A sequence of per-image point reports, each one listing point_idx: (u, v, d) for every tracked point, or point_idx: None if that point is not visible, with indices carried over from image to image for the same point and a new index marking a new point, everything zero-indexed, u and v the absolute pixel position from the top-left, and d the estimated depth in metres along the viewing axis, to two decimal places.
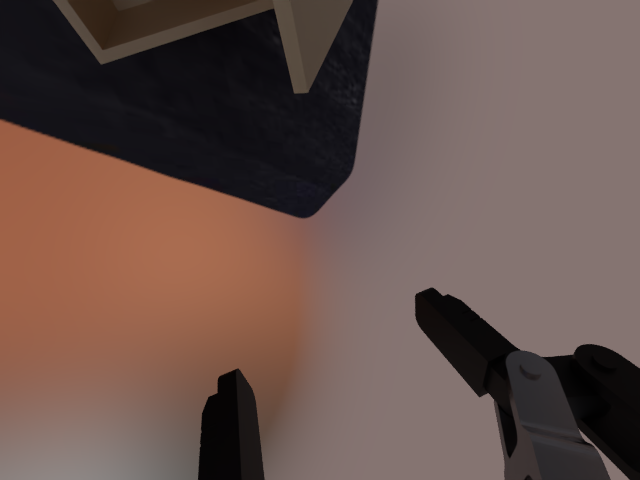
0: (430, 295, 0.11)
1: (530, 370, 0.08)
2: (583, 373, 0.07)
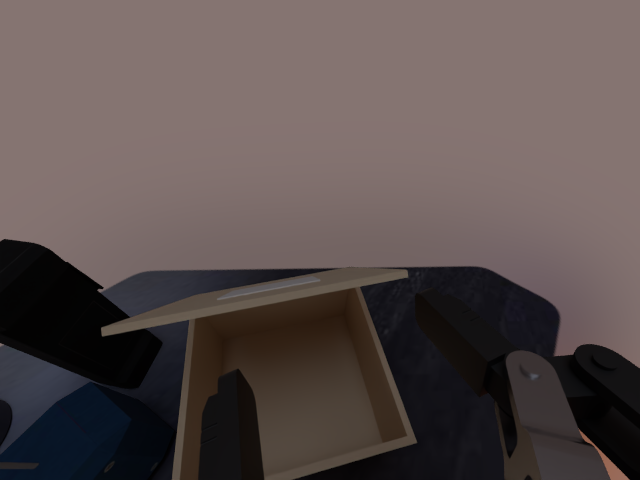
0: (430, 295, 0.11)
1: (530, 370, 0.08)
2: (583, 373, 0.07)
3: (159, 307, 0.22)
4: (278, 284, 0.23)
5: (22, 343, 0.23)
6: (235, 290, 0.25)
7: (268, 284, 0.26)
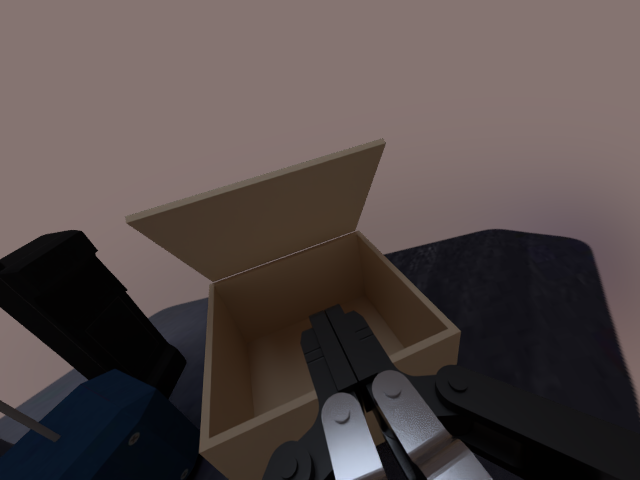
0: (333, 311, 0.11)
1: (392, 391, 0.08)
2: (452, 405, 0.07)
3: None
4: None
5: (52, 319, 0.24)
6: None
7: None
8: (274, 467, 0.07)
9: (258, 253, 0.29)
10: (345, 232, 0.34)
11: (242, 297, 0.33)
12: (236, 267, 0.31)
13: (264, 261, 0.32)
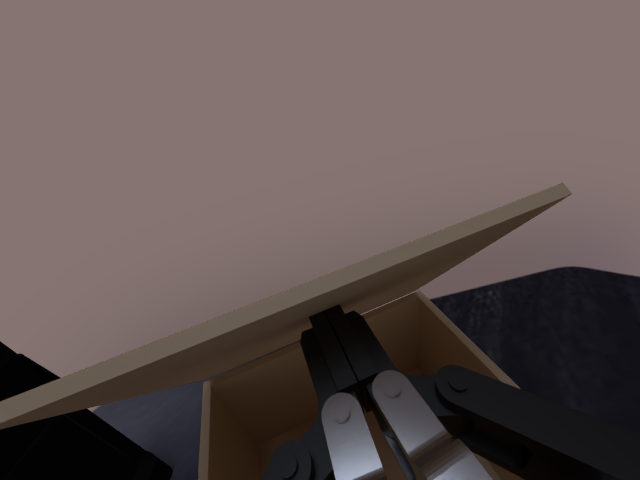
0: (333, 312, 0.11)
1: (392, 391, 0.08)
2: (452, 405, 0.07)
3: None
4: None
5: None
6: None
7: None
8: (274, 467, 0.07)
9: (279, 344, 0.19)
10: (402, 295, 0.23)
11: (252, 394, 0.23)
12: (245, 361, 0.20)
13: (286, 344, 0.21)
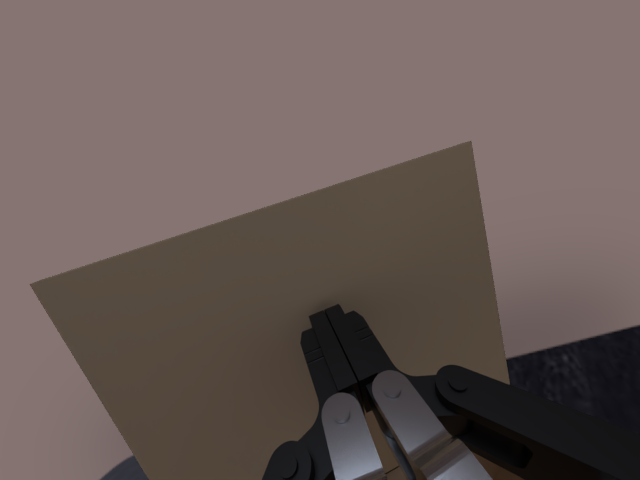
0: (333, 312, 0.11)
1: (392, 391, 0.08)
2: (452, 405, 0.07)
3: None
4: None
5: None
6: None
7: None
8: (274, 467, 0.07)
9: None
10: None
11: None
12: None
13: None
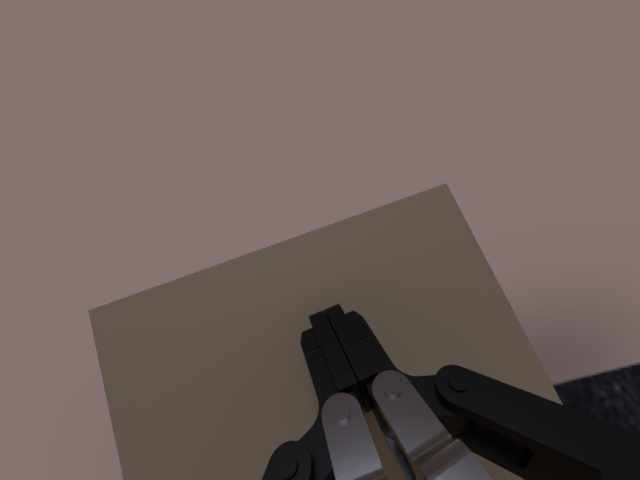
0: (333, 312, 0.11)
1: (392, 391, 0.08)
2: (452, 405, 0.07)
3: None
4: None
5: None
6: None
7: None
8: (274, 467, 0.07)
9: None
10: None
11: None
12: None
13: None
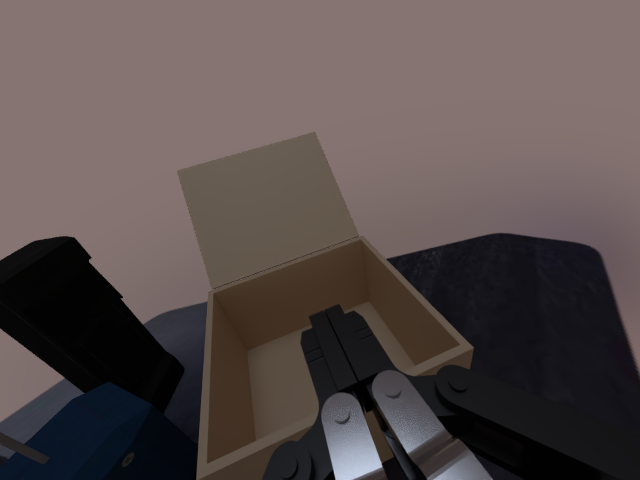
0: (333, 312, 0.11)
1: (392, 391, 0.08)
2: (452, 405, 0.07)
3: None
4: None
5: (43, 331, 0.22)
6: None
7: None
8: (274, 467, 0.07)
9: (255, 242, 0.32)
10: (347, 235, 0.34)
11: (242, 304, 0.32)
12: (236, 263, 0.32)
13: (264, 263, 0.32)
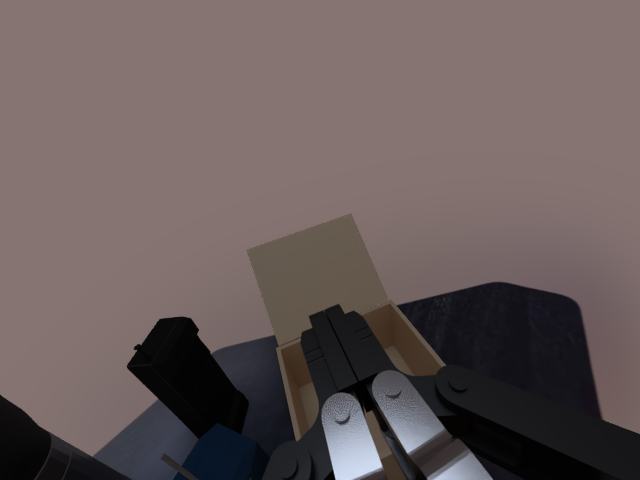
0: (333, 312, 0.11)
1: (392, 391, 0.08)
2: (452, 405, 0.07)
3: (260, 290, 0.42)
4: None
5: (177, 390, 0.32)
6: None
7: None
8: (274, 467, 0.07)
9: (309, 307, 0.42)
10: (379, 300, 0.43)
11: (299, 355, 0.42)
12: (295, 324, 0.41)
13: None
